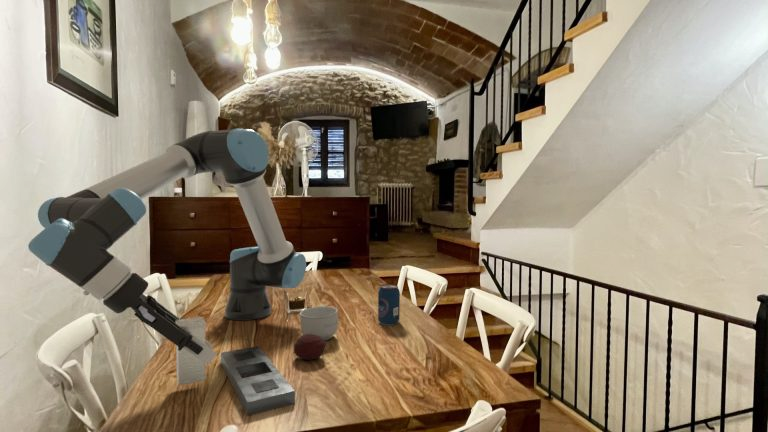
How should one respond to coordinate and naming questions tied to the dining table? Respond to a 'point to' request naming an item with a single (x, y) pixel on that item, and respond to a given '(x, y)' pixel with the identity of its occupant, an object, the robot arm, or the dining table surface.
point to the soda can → (388, 304)
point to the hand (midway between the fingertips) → (210, 354)
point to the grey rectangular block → (186, 362)
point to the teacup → (319, 321)
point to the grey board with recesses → (256, 380)
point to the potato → (309, 346)
